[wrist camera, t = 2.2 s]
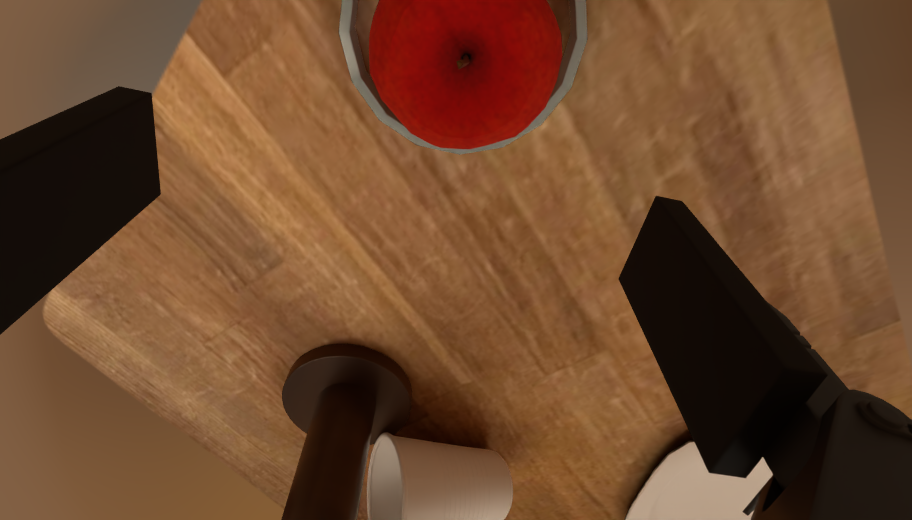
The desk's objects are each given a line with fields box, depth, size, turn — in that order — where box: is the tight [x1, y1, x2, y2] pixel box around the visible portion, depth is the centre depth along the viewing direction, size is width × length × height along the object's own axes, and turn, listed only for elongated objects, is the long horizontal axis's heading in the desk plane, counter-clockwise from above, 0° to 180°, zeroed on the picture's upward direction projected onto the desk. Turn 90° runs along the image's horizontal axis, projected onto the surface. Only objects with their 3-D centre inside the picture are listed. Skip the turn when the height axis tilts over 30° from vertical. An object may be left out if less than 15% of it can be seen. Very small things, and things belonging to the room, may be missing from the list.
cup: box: [367, 432, 513, 520], centre depth 46 cm, size 10×10×11 cm
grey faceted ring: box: [339, 0, 587, 154], centre depth 30 cm, size 14×14×2 cm
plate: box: [625, 440, 773, 520], centre depth 53 cm, size 18×18×2 cm
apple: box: [369, 0, 562, 149], centre depth 26 cm, size 9×9×11 cm
